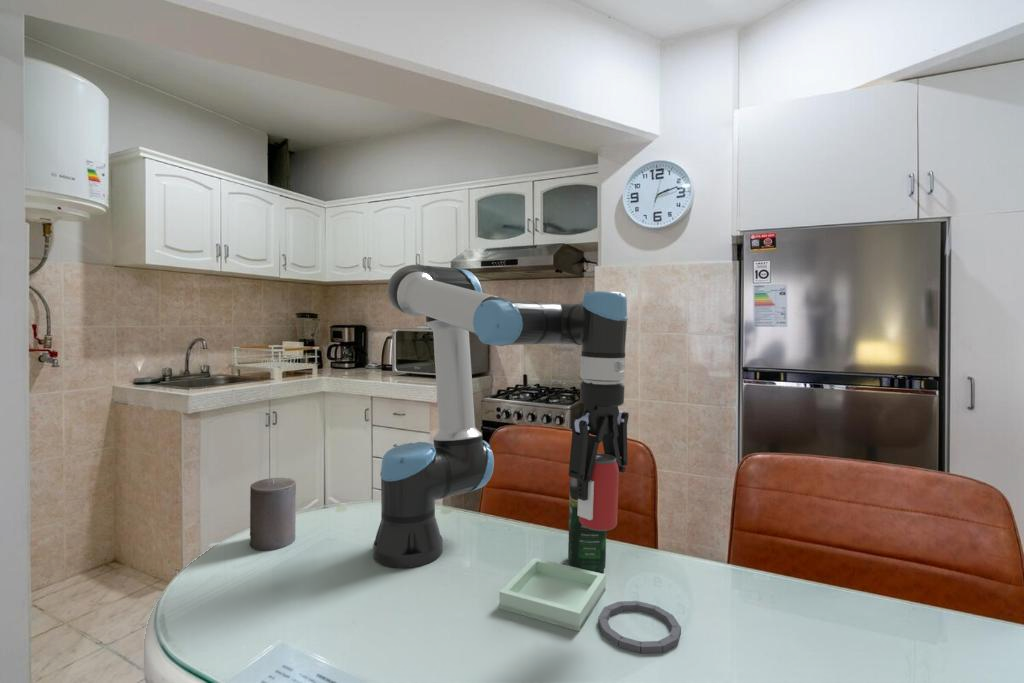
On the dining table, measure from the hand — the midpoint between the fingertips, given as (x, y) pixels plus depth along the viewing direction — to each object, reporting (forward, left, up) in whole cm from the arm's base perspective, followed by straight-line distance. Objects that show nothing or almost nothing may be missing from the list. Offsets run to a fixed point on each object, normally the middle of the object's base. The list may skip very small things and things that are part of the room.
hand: (597, 511), depth 89 cm
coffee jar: (-7, +17, -18) cm, 26 cm away
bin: (-8, +1, -18) cm, 20 cm away
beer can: (0, 0, -2) cm, 2 cm away
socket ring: (+8, -1, -18) cm, 19 cm away
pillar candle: (-75, -6, -18) cm, 78 cm away
